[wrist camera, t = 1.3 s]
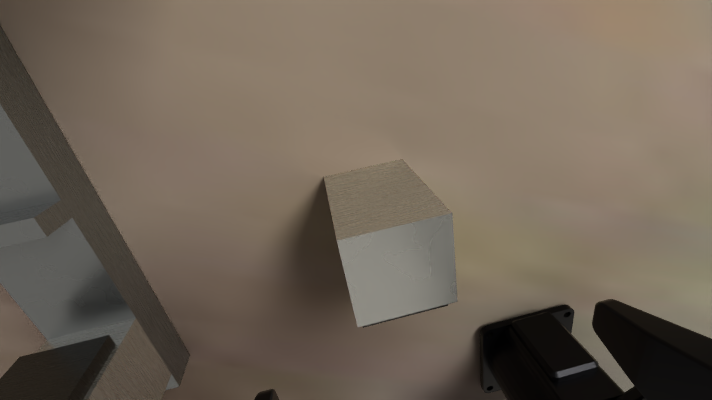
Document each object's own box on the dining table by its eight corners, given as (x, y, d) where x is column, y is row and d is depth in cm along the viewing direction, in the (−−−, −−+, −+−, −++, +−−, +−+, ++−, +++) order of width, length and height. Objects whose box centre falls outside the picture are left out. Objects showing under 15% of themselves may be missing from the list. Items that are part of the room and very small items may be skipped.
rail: (189, 355, 20) (128, 533, 12) (120, 373, 19) (16, 565, 12) (-11, 6, 12) (-489, -54, 5) (-134, 28, 12) (-842, 1, 4)
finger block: (411, 236, 19) (458, 312, 13) (341, 252, 18) (360, 338, 13) (402, 158, 17) (452, 213, 11) (323, 176, 16) (336, 240, 11)
